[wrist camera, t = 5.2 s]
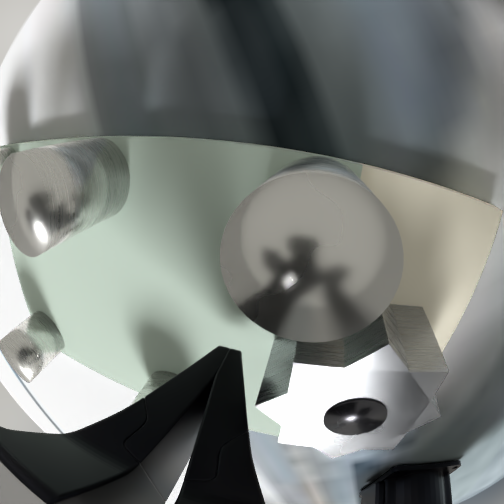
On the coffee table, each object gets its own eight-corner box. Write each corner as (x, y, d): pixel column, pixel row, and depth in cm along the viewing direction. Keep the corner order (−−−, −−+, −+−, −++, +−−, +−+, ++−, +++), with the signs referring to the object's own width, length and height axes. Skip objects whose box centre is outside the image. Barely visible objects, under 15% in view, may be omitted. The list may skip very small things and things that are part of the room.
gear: (450, 286, 7) (487, 348, 5) (398, 400, 10) (404, 459, 7) (279, 267, 9) (257, 331, 6) (268, 388, 11) (251, 449, 8)
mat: (491, 204, 7) (503, 210, 6) (368, 436, 12) (368, 447, 11) (10, 143, 10) (0, 146, 10) (45, 331, 16) (39, 337, 15)
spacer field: (380, 169, 7) (426, 198, 4) (289, 437, 12) (275, 496, 9) (-2, 146, 10) (-53, 161, 6) (36, 335, 15) (5, 363, 12)
